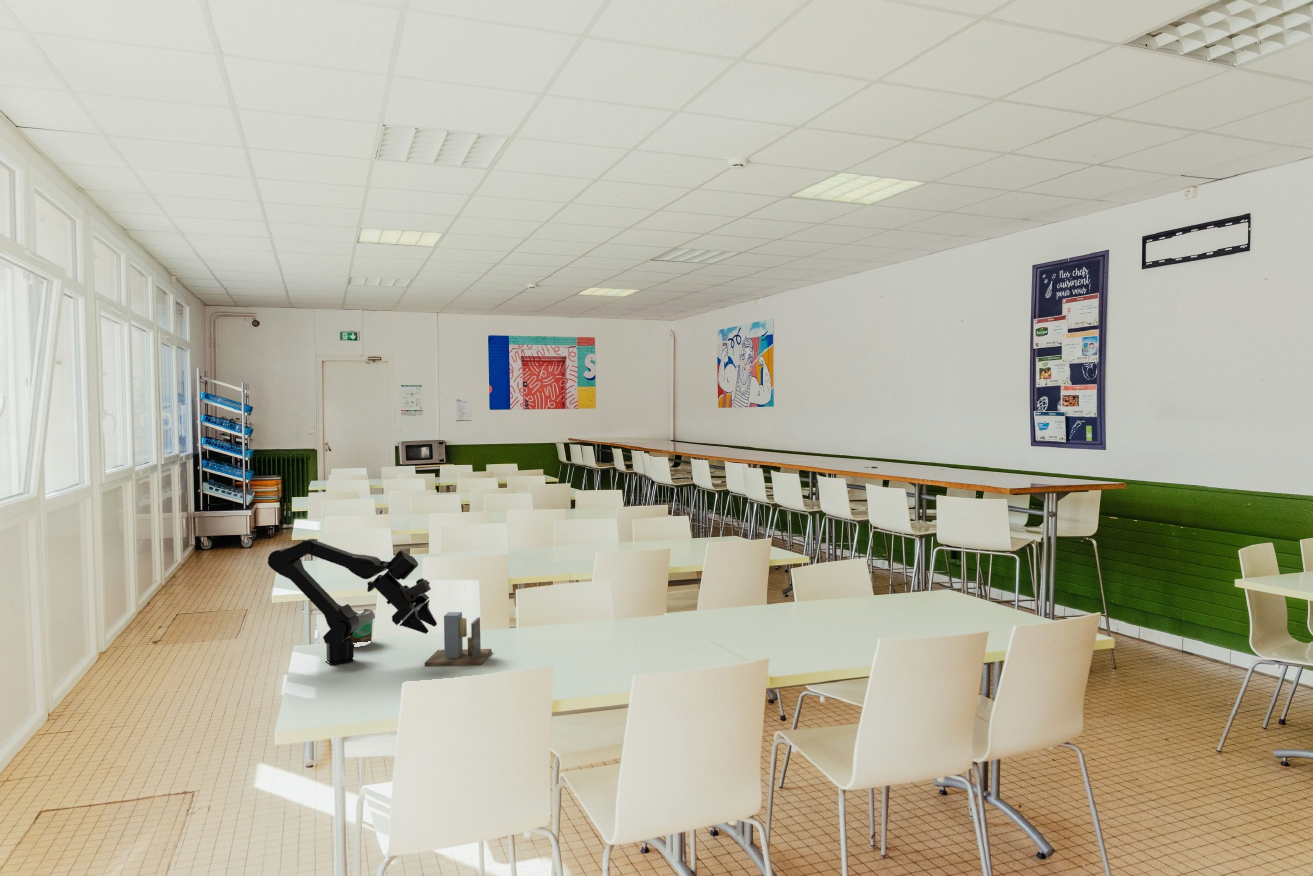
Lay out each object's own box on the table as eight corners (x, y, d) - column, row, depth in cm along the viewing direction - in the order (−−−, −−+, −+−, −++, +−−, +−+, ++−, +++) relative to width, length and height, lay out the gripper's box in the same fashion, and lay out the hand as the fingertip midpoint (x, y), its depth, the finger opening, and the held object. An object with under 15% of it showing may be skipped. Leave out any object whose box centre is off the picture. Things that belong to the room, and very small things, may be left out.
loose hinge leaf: (444, 658, 234) (443, 615, 234) (449, 653, 239) (448, 612, 239) (465, 657, 234) (464, 615, 234) (468, 653, 239) (468, 612, 239)
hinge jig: (424, 666, 229) (423, 626, 230) (437, 653, 243) (437, 616, 244) (481, 664, 230) (480, 625, 230) (491, 652, 244) (490, 615, 244)
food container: (361, 650, 250) (361, 617, 250) (343, 649, 251) (342, 616, 251) (383, 640, 262) (382, 609, 262) (365, 639, 263) (365, 608, 263)
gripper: (402, 576, 227) (443, 615, 227) (421, 566, 246) (459, 602, 246) (374, 605, 227) (414, 644, 227) (395, 592, 246) (433, 629, 246)
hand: (431, 628), depth 236 cm, fingers open, 9 cm apart
